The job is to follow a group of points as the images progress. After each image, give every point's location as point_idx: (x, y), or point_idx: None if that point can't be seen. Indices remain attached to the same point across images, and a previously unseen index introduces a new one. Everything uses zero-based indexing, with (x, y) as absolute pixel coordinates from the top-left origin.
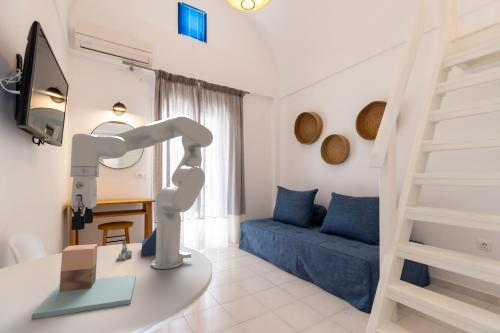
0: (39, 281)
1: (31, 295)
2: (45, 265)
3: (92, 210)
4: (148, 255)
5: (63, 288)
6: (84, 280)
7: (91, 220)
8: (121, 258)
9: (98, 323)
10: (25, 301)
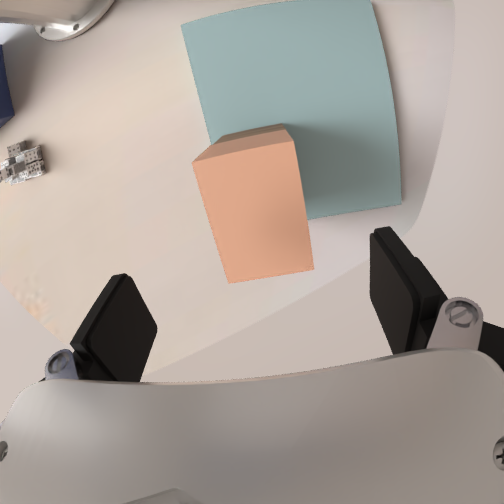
0: (195, 294)
1: None
2: None
3: (71, 355)
4: (9, 96)
5: None
6: None
7: (122, 290)
8: (38, 159)
9: (439, 58)
10: None
